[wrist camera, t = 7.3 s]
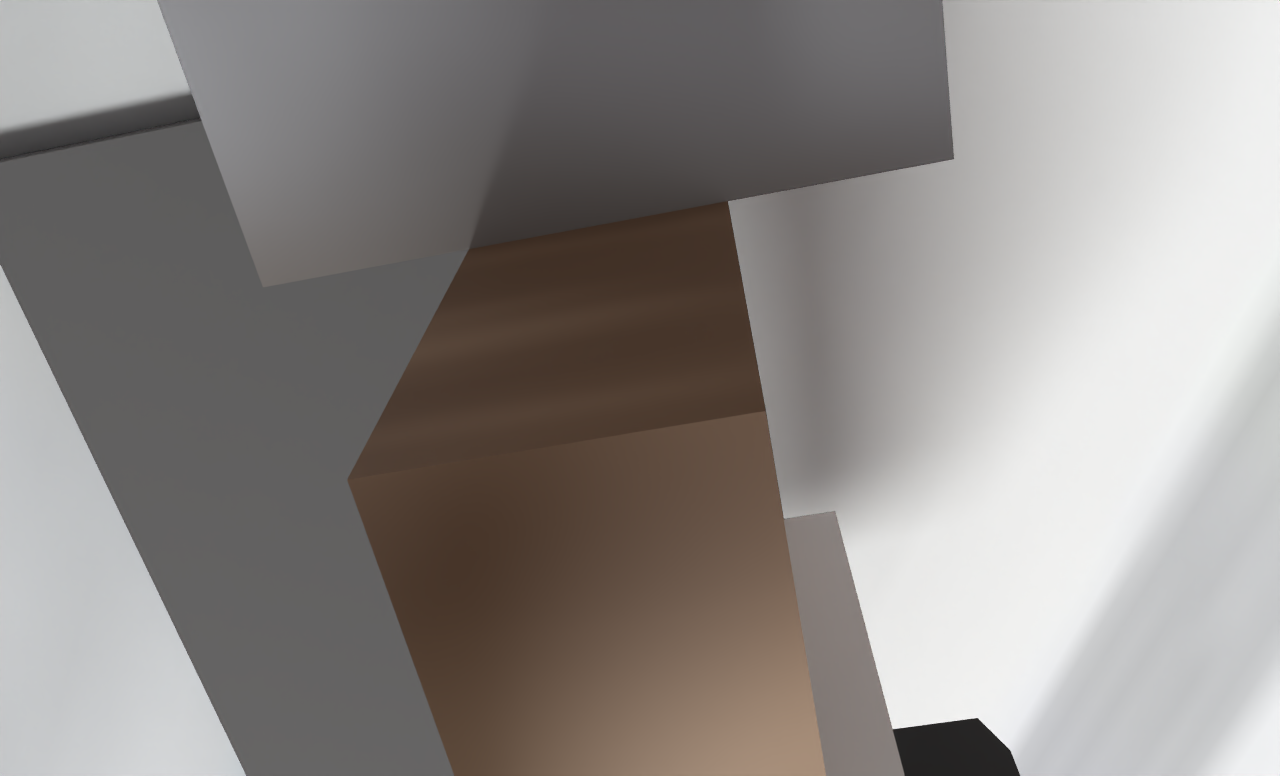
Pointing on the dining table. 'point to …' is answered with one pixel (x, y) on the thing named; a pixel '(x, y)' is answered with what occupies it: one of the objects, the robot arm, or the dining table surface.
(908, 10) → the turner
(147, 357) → the mat
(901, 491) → the dining table surface
